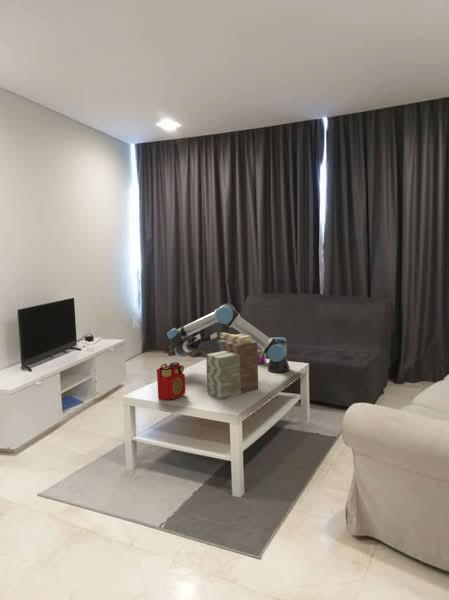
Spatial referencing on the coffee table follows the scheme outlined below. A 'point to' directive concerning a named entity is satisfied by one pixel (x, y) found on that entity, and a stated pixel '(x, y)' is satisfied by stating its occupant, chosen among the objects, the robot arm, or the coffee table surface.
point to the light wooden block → (236, 338)
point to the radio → (170, 381)
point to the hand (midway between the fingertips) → (208, 335)
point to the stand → (232, 370)
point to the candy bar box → (261, 356)
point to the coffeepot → (222, 344)
